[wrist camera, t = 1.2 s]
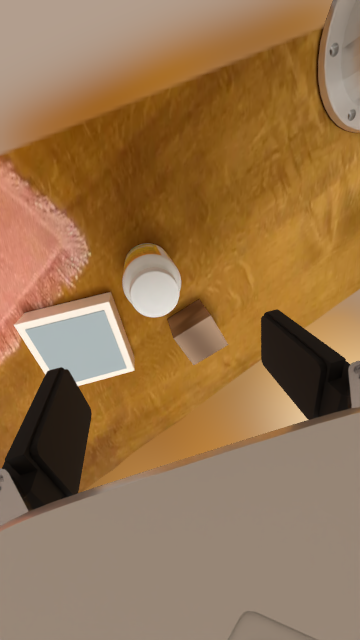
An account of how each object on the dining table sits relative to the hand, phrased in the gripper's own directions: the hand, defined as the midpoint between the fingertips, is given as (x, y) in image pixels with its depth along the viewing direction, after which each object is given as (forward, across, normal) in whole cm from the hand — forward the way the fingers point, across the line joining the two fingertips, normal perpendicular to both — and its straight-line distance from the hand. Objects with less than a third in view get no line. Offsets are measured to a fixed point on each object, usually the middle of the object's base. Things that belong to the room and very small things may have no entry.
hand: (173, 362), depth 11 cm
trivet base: (+18, +10, +7) cm, 22 cm away
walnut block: (+18, -4, +9) cm, 21 cm away
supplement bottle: (+18, 0, 0) cm, 18 cm away
